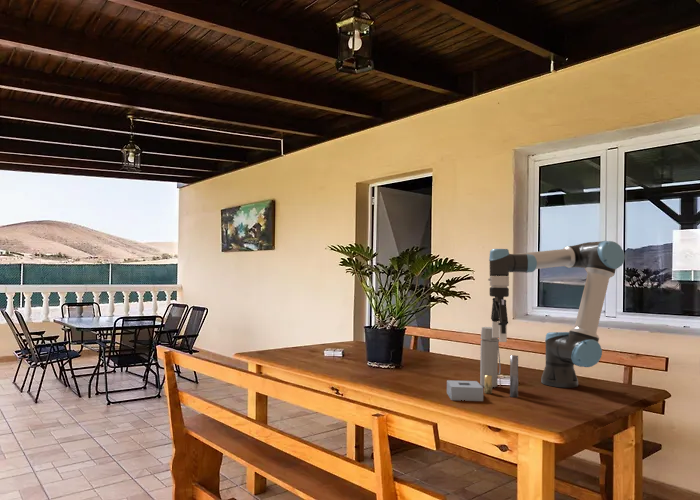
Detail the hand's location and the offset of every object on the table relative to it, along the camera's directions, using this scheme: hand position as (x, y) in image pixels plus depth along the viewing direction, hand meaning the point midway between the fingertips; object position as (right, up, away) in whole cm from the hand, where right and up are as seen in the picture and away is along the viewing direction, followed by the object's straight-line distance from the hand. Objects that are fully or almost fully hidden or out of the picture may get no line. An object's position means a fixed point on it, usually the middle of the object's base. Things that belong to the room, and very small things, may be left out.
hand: (499, 339), depth 210 cm
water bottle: (0, -23, +14) cm, 27 cm away
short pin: (-4, -22, +1) cm, 22 cm away
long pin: (+5, -22, -4) cm, 23 cm away
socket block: (-15, -21, -6) cm, 27 cm away
